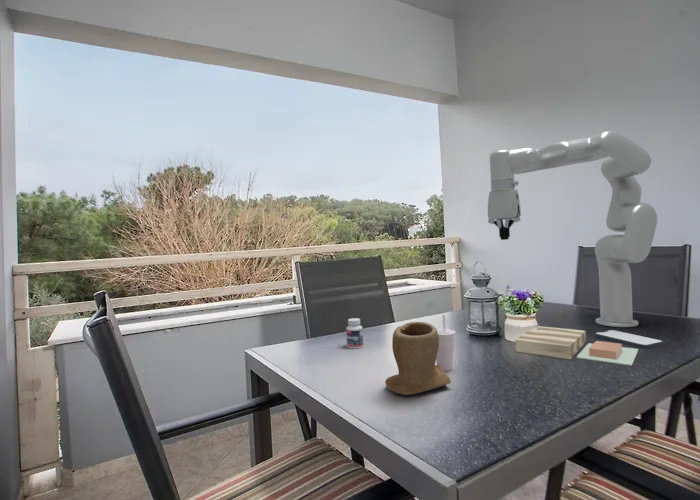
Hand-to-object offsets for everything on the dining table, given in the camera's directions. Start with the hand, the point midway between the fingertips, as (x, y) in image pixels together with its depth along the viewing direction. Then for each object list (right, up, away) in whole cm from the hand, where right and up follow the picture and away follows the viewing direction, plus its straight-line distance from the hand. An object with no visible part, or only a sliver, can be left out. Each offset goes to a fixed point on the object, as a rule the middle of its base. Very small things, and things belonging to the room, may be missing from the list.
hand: (504, 239), depth 135 cm
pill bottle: (-52, -35, -9) cm, 64 cm away
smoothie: (-29, -35, -35) cm, 57 cm away
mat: (+16, -32, -30) cm, 46 cm away
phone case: (+30, -32, -18) cm, 47 cm away
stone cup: (-38, -35, -47) cm, 70 cm away
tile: (+15, -30, -30) cm, 45 cm away
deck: (+6, -32, -20) cm, 39 cm away
